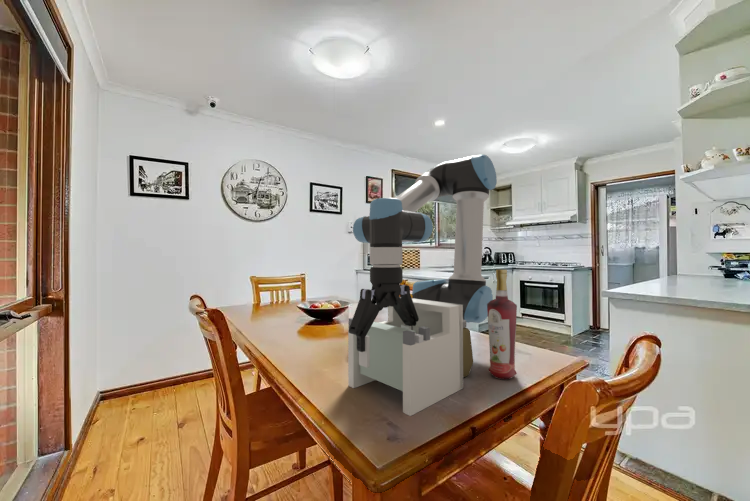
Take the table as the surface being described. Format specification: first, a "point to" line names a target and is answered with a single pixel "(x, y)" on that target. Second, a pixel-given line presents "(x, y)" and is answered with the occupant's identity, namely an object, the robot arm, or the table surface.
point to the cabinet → (423, 355)
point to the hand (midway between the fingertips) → (386, 358)
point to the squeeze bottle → (467, 351)
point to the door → (387, 354)
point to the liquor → (502, 330)
